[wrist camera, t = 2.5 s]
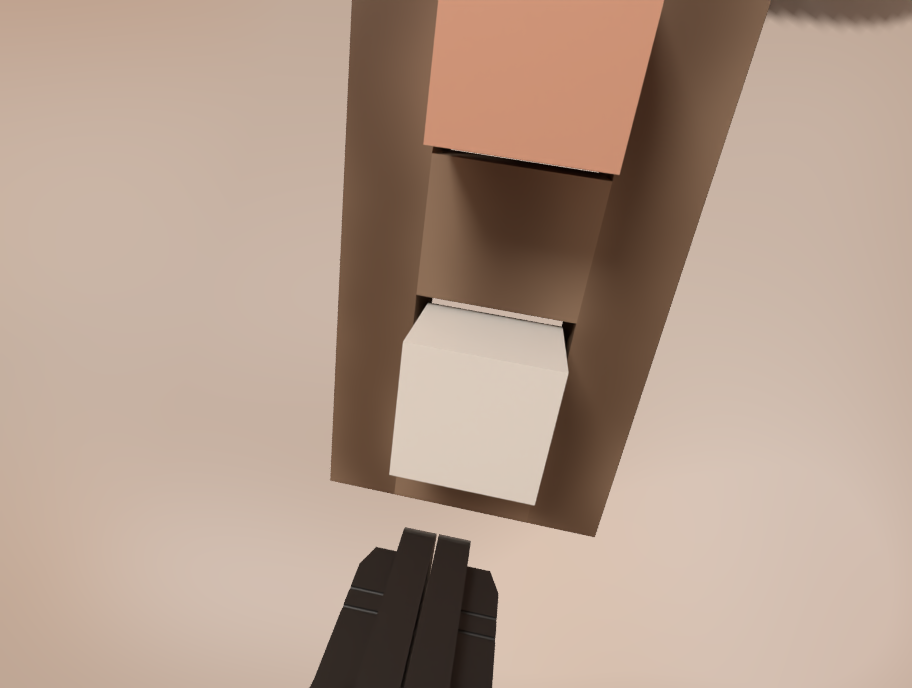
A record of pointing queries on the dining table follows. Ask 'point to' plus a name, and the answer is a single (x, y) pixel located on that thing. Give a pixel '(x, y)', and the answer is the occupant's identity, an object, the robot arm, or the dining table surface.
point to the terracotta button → (540, 78)
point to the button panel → (523, 243)
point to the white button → (478, 402)
